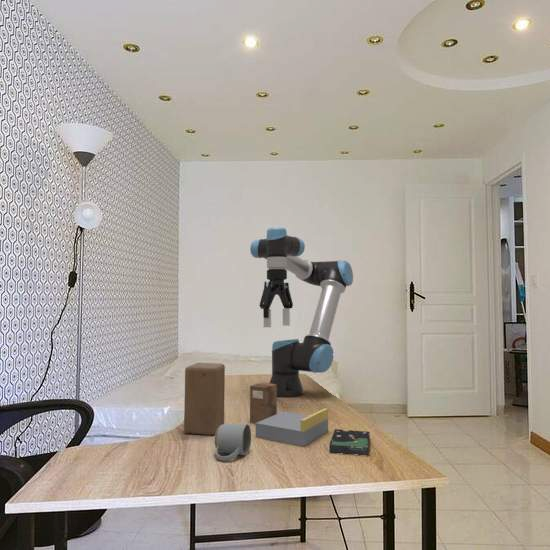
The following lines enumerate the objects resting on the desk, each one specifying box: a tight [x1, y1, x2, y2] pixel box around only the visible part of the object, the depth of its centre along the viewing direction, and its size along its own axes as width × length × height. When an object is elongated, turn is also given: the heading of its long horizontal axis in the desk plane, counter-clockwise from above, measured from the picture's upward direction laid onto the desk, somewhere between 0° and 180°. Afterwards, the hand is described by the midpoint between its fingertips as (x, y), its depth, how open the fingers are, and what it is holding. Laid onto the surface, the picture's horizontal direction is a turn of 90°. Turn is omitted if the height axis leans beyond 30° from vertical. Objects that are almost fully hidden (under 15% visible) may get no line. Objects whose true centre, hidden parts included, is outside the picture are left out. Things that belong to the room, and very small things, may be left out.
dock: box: [255, 407, 329, 447], centre depth 131 cm, size 16×16×7 cm
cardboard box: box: [249, 382, 278, 425], centre depth 145 cm, size 7×6×12 cm
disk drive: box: [328, 428, 371, 456], centre depth 121 cm, size 10×3×15 cm
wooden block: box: [183, 362, 226, 436], centre depth 135 cm, size 10×10×20 cm
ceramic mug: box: [214, 423, 252, 463], centre depth 113 cm, size 11×8×8 cm
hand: (277, 326), depth 161 cm, fingers open, 13 cm apart
